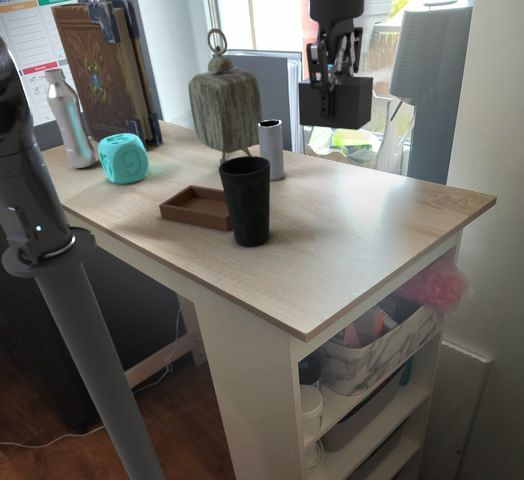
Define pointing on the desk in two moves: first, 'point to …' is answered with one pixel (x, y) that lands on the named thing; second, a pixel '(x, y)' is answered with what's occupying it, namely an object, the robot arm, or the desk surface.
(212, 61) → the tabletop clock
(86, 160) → the silver metal bottle
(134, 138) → the decorative dice
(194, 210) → the wooden tray
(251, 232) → the cup
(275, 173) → the grey cylindrical tube
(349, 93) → the black rectangular box
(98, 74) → the decorative book
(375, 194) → the desk surface
